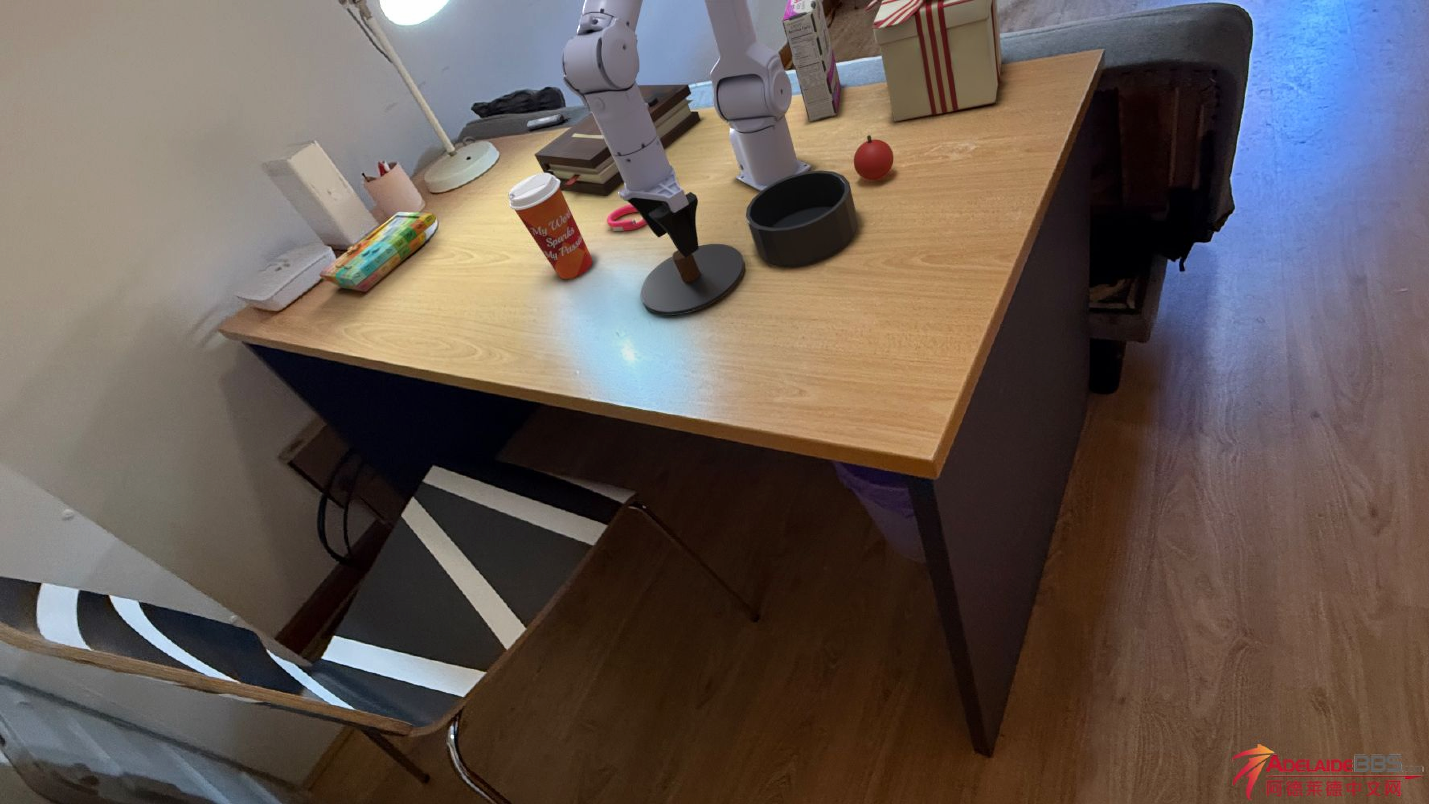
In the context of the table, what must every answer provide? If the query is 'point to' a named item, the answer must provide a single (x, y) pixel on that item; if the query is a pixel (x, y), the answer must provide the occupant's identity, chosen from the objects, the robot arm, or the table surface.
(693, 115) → the decorative book
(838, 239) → the pan
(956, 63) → the gift box
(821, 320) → the table surface
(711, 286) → the lid
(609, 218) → the fitness band
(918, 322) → the table surface
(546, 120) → the usb stick
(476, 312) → the table surface
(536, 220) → the paper cup
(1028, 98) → the table surface
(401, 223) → the puzzle game
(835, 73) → the candy bar box
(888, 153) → the apple
